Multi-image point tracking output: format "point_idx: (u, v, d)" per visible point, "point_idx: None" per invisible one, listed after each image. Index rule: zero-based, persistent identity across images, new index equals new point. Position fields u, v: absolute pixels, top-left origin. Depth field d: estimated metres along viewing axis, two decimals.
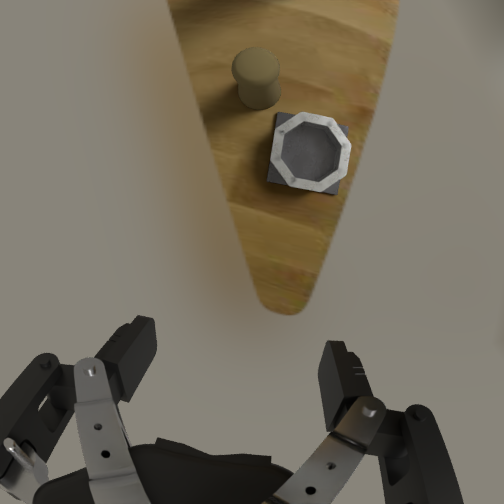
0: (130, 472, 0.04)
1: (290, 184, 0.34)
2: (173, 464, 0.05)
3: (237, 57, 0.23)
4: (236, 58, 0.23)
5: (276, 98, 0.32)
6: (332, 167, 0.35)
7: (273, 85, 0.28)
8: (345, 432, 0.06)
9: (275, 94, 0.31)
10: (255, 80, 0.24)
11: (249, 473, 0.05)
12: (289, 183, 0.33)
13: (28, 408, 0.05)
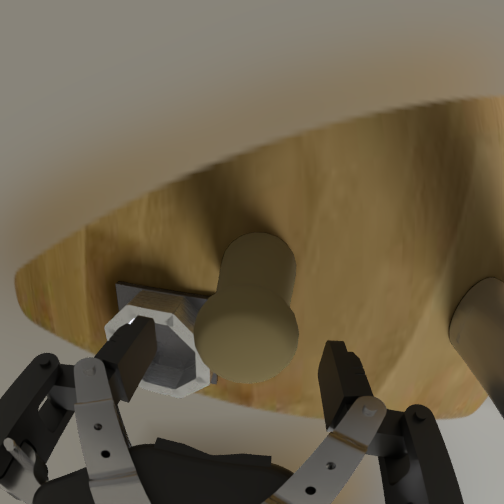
0: (130, 472, 0.04)
1: (107, 326, 0.21)
2: (173, 464, 0.05)
3: (260, 317, 0.11)
4: (258, 314, 0.11)
5: None
6: (157, 363, 0.25)
7: None
8: (345, 432, 0.06)
9: None
10: (200, 350, 0.12)
11: (249, 473, 0.05)
12: (107, 326, 0.21)
13: (28, 408, 0.05)
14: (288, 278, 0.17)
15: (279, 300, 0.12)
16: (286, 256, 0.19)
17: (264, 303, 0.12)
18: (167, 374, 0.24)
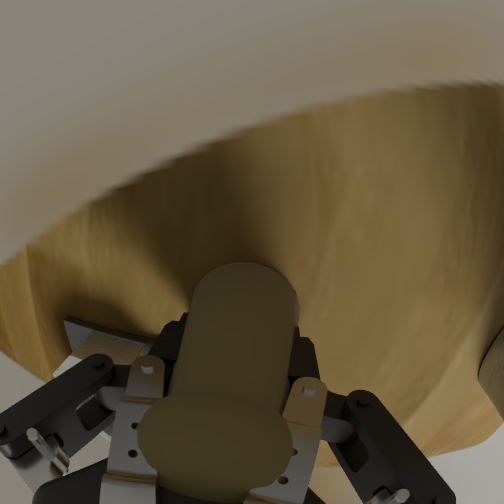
0: (150, 477, 0.04)
1: (56, 374, 0.14)
2: None
3: (234, 482, 0.04)
4: (229, 477, 0.04)
5: None
6: None
7: None
8: (293, 416, 0.07)
9: None
10: None
11: None
12: (55, 375, 0.14)
13: (65, 405, 0.06)
14: (289, 346, 0.10)
15: (273, 434, 0.05)
16: (286, 303, 0.12)
17: (242, 454, 0.05)
18: None
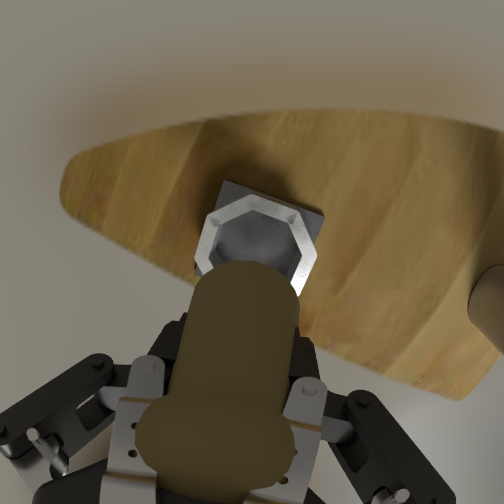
0: (150, 477, 0.04)
1: (210, 216, 0.23)
2: None
3: (234, 481, 0.04)
4: (229, 476, 0.04)
5: None
6: None
7: None
8: (293, 416, 0.07)
9: None
10: None
11: None
12: (211, 215, 0.23)
13: (65, 405, 0.06)
14: (289, 345, 0.10)
15: (274, 433, 0.05)
16: (286, 301, 0.12)
17: (242, 453, 0.05)
18: None
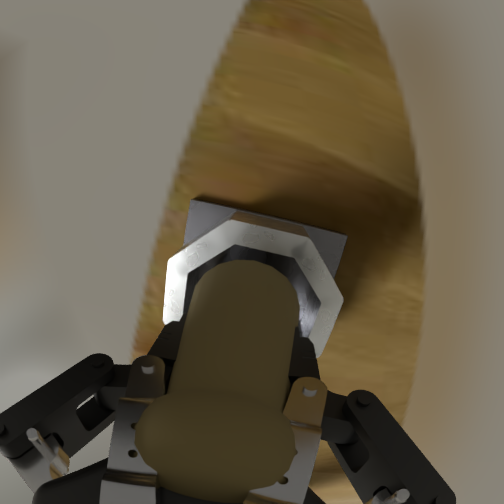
0: (150, 477, 0.04)
1: (307, 241, 0.14)
2: None
3: (234, 480, 0.04)
4: (230, 475, 0.04)
5: None
6: None
7: None
8: (293, 416, 0.07)
9: None
10: None
11: None
12: (309, 244, 0.14)
13: (65, 405, 0.06)
14: (289, 344, 0.10)
15: (274, 432, 0.05)
16: (286, 301, 0.12)
17: (243, 452, 0.05)
18: (192, 287, 0.17)
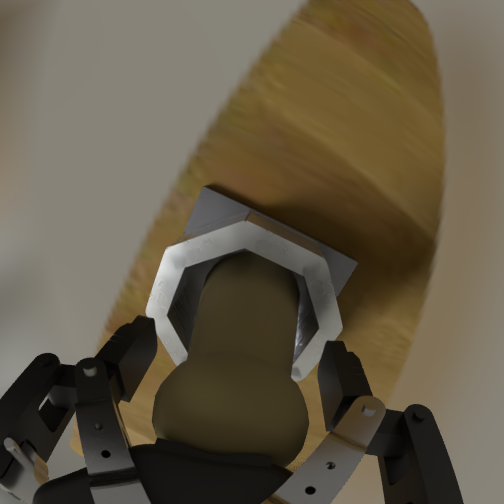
0: (130, 472, 0.04)
1: (321, 262, 0.13)
2: (173, 464, 0.05)
3: (250, 423, 0.06)
4: (246, 418, 0.06)
5: None
6: None
7: None
8: (344, 432, 0.06)
9: None
10: None
11: (249, 473, 0.05)
12: (323, 266, 0.12)
13: (28, 408, 0.05)
14: (291, 323, 0.12)
15: (281, 384, 0.07)
16: (288, 287, 0.14)
17: (256, 398, 0.06)
18: (183, 281, 0.15)
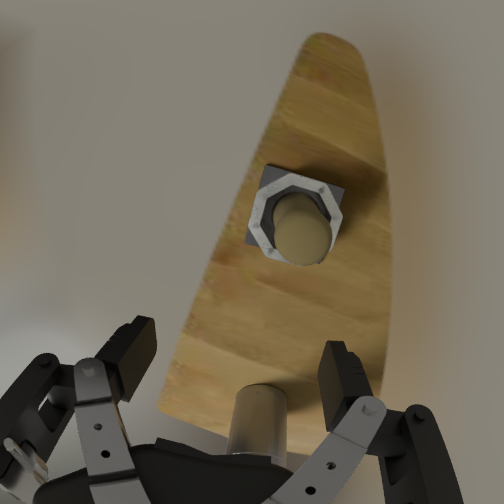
0: (129, 472, 0.04)
1: (325, 185, 0.28)
2: (173, 464, 0.05)
3: (311, 217, 0.22)
4: (309, 216, 0.22)
5: None
6: None
7: None
8: (345, 432, 0.06)
9: None
10: (281, 246, 0.23)
11: (249, 473, 0.05)
12: (326, 187, 0.28)
13: (28, 408, 0.05)
14: (318, 211, 0.28)
15: (317, 211, 0.23)
16: (313, 201, 0.30)
17: (311, 211, 0.22)
18: None
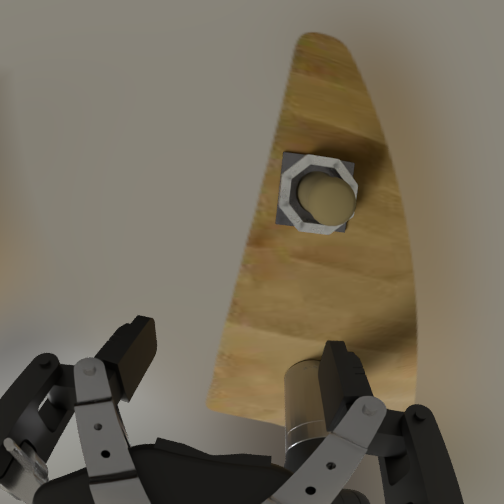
0: (130, 472, 0.04)
1: (338, 161, 0.32)
2: (173, 464, 0.05)
3: (336, 183, 0.25)
4: (335, 182, 0.25)
5: None
6: (290, 179, 0.36)
7: None
8: (345, 432, 0.06)
9: None
10: (316, 210, 0.26)
11: (249, 473, 0.05)
12: (339, 162, 0.32)
13: (28, 408, 0.05)
14: None
15: None
16: (330, 176, 0.33)
17: (335, 178, 0.26)
18: None
